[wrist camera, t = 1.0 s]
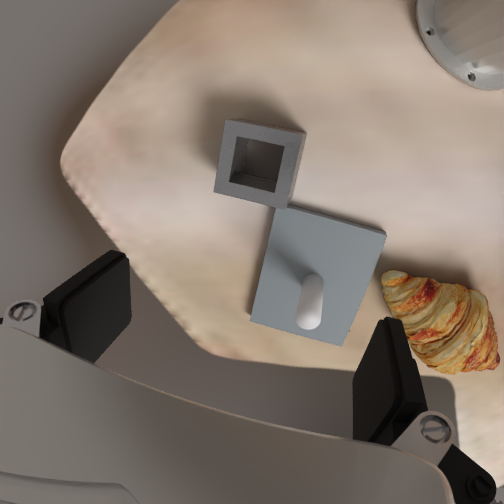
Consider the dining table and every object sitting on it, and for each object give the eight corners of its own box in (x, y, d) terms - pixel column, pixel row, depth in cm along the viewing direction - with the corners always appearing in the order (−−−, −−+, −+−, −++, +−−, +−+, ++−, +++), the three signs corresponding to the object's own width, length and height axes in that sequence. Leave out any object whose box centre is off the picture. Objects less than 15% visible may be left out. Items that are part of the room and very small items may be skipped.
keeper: (278, 201, 32) (262, 226, 25) (385, 232, 30) (398, 265, 23) (251, 316, 38) (233, 358, 31) (341, 341, 36) (340, 386, 30)
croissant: (362, 273, 36) (342, 331, 32) (418, 226, 28) (408, 292, 23) (471, 351, 36) (463, 403, 31) (528, 325, 28) (526, 384, 23)
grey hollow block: (240, 118, 29) (225, 119, 25) (306, 133, 28) (302, 135, 24) (228, 181, 32) (213, 192, 28) (292, 197, 31) (285, 210, 27)
